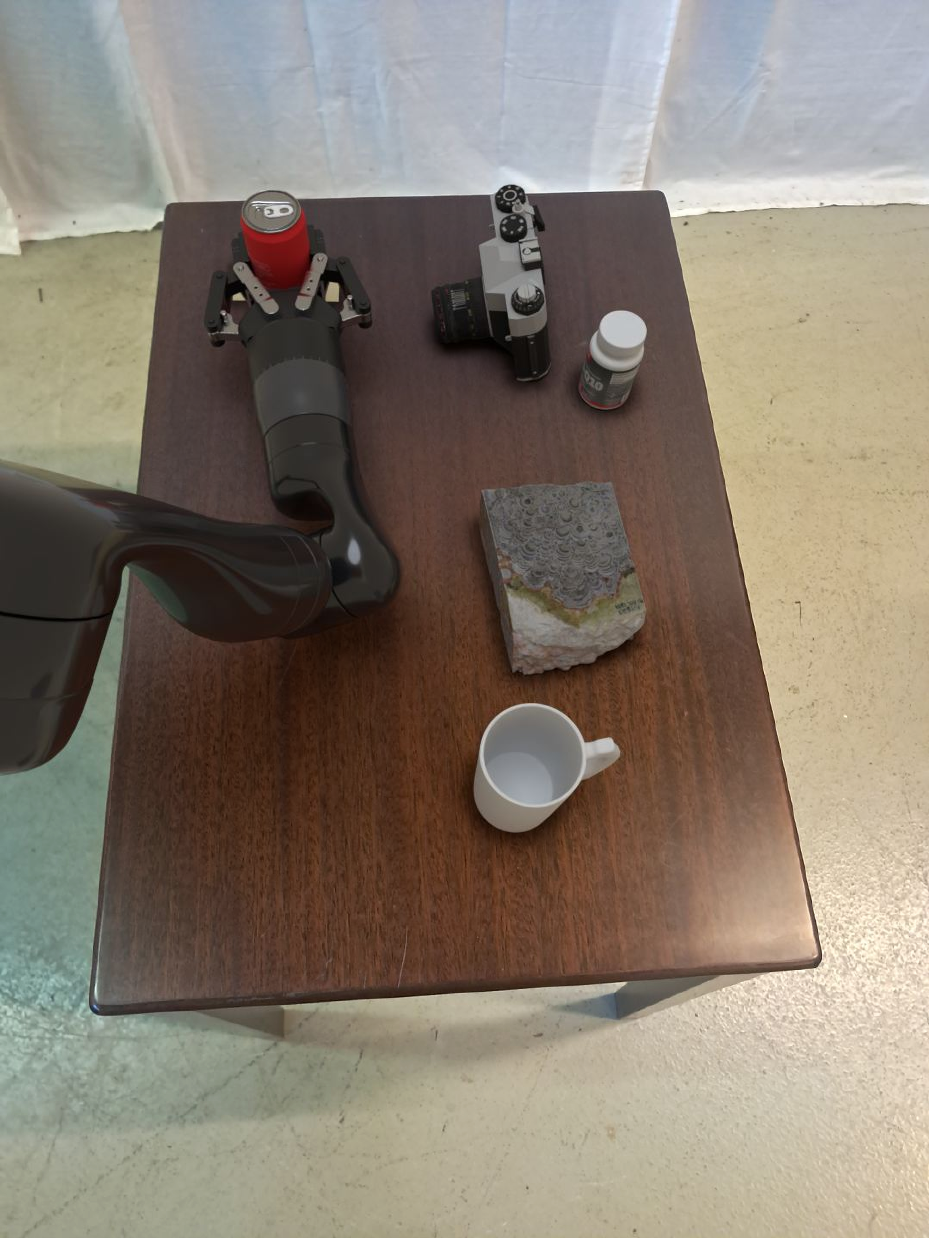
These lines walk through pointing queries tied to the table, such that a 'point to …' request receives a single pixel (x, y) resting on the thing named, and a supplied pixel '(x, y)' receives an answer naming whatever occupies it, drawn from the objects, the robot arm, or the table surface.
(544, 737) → the mug
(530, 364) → the camera
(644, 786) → the table surface
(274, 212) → the beverage can
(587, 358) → the pill bottle
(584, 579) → the geological specimen
